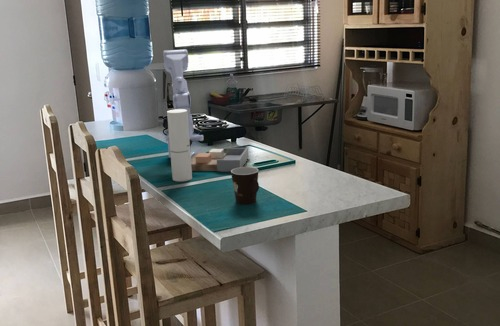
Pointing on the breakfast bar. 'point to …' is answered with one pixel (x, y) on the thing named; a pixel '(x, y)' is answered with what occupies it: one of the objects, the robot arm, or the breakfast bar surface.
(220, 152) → the cream tile
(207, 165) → the walnut board
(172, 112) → the cylindrical container
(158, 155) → the breakfast bar surface
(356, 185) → the breakfast bar surface
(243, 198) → the coffee mug
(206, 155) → the terracotta tile
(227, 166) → the box
